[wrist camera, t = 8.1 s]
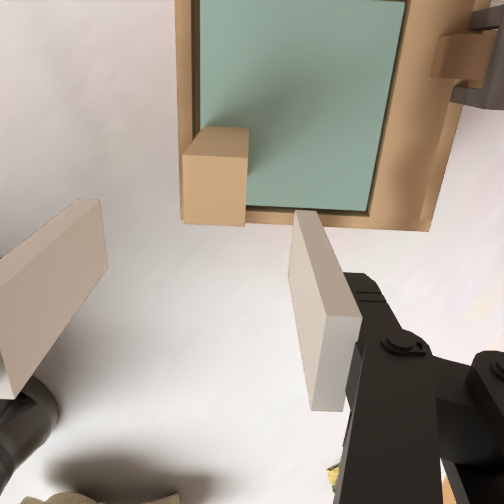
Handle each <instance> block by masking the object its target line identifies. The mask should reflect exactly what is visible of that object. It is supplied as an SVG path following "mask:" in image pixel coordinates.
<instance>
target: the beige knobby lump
mask: <svg viewBox="0 0 504 504" xmlns="http://www.w3.org/2000/svg"><path fill="white" fill-rule="evenodd" d="M21 504H106V503H103V502H100V503H97V502H96V501H94V500H92V499H91V498H88V497H87V496H84V495H82V494H79V493H74V492H63V493H57V494H54V495H53V496H51V497H50V498H49V499H48V500H47V501H46V502H44V501H41V500H39V499H36V498H32V497H25V498H24V499H23V500H22V502H21ZM141 504H180V498H179V494H178V493H176V494H174V495H171V496H168V497H165V498H162V499H159V500H155V501H151V502H147V503H141Z"/></svg>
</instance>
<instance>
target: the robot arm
mask: <svg viewBox="0 0 504 504" xmlns="http://www.w3.org/2000/svg"><path fill="white" fill-rule="evenodd" d="M107 268H108V266H107V257H106V249H105V241H104V232H103V224H102V216H101V207H100V200H90V199H77V200H76V201H75V202H73V203H72V204H71V205H70V206H68V207H67V208H66V209H64V210H63V211H62V212H61V213H59V214H58V215H57V216H55V217H54V218H53V219H52V220H50V221H49V222H48V223H46V224H45V225H44V226H42V227H41V228H40V229H39V230H37V231H36V232H35V233H33V234H32V235H31V236H30V237H28V238H27V239H26V240H24V241H23V242H22V243H21V244H19V245H18V246H17V247H15V248H14V249H13V250H11V251H10V252H9V253H8V254H6V255H5V256H4V257H2V258H0V495H1V493H2V492H3V490H4V488H5V486H6V485H7V483H8V481H9V480H10V478H11V476H12V475H13V473H14V471H15V470H16V469H17V468H18V467H19V466H20V465H21V464H22V463H24V462H25V461H26V460H27V459H28V458H29V457H30V456H31V455H32V454H33V453H34V452H35V451H36V450H37V448H39V447H40V446H41V445H42V444H44V443H45V441H46V440H47V439H48V437H49V436H50V434H51V432H52V430H53V429H54V427H55V425H56V423H57V420H58V407H57V403H56V401H55V399H54V397H53V396H52V394H51V393H50V392H49V390H48V389H47V388H46V387H45V386H44V385H43V384H42V383H40V382H39V381H38V380H36V379H35V378H33V377H32V376H31V375H32V374H33V373H34V371H35V370H36V368H37V367H38V366H39V364H40V363H41V361H42V360H43V358H44V357H45V356H46V354H47V353H48V351H49V350H50V349H51V347H52V346H53V344H54V343H55V342H56V340H57V339H58V337H59V336H60V334H61V333H62V332H63V330H64V329H65V327H66V326H67V325H68V323H69V322H70V320H71V319H72V318H73V316H74V315H75V313H76V312H77V310H78V309H79V308H80V306H81V305H82V303H83V302H84V301H85V299H86V298H87V296H88V295H89V294H90V292H91V291H92V289H93V288H94V286H95V285H96V284H97V282H98V281H99V279H100V278H101V277H102V275H103V274H104V272H105V271H106V270H107ZM288 279H289V285H290V291H291V297H292V303H293V309H294V315H295V321H296V326H297V332H298V338H299V344H300V350H301V356H302V362H303V367H304V373H305V379H306V385H307V391H308V397H309V403H310V409H311V411H330V412H343V407H344V402H345V398H346V396H347V399H348V403H349V406H350V410H351V411H350V415H349V420H348V424H347V429H346V433H345V438H344V442H343V446H342V447H343V452H342V457H341V463H340V468H339V474H338V479H337V485H336V490H335V496H334V501H333V504H443V495H442V481H441V468H440V458H441V460H442V463H443V466H444V469H445V472H446V475H447V477H448V480H449V483H450V486H451V488H452V491H453V494H454V497H455V500H456V503H457V504H504V352H500V351H482V352H480V353H477V354H476V356H475V357H474V359H473V362H472V364H471V366H469V365H465V364H461V363H457V362H453V361H449V360H445V359H442V358H439V357H436V356H433V355H432V352H431V350H430V347H429V345H428V344H427V343H426V342H425V341H424V340H423V339H422V338H420V337H419V336H417V335H415V334H414V333H412V332H410V331H407V330H404V329H402V328H401V326H400V324H399V322H398V320H397V319H396V317H395V315H394V313H393V312H392V310H391V308H390V306H389V305H388V303H386V299H385V298H384V296H383V295H382V292H381V291H380V289H379V287H378V285H377V284H376V282H375V281H373V280H372V279H371V278H369V277H368V276H367V275H365V274H364V273H347V272H342V269H341V267H340V265H339V263H338V260H337V258H336V256H335V253H334V251H333V249H332V246H331V244H330V242H329V240H328V237H327V235H326V233H325V230H324V228H323V226H322V224H321V221H320V219H319V217H318V214H317V212H316V211H308V210H295V214H294V224H293V233H292V243H291V252H290V261H289V271H288Z"/></svg>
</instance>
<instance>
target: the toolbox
mask: <svg viewBox="0 0 504 504" xmlns="http://www.w3.org/2000/svg"><path fill="white" fill-rule="evenodd" d="M379 1H395V2H405V7H404V12H403V17H402V23H401V28H400V33H399V38H398V44H397V49H396V54H395V59H394V65H393V70H392V75H391V81H390V86H389V91H388V96H387V102H386V107H385V112H384V118H383V123H382V128H381V133H380V139H379V144H378V149H377V155H376V160H375V165H374V170H373V176H372V181H371V186H370V191H369V197H368V202H367V207H366V211H357V210H337V209H317V208H298V207H278V206H258V205H246V209H245V223H260V224H281V225H293V224H294V214H295V210H308V211H316V212H317V214H318V217H319V219H320V221H321V224H322V226H323V227H341V228H361V229H381V230H401V231H422V232H429V229H430V225H431V222H432V218H433V214H434V210H435V207H436V203H437V199H438V196H439V192H440V188H441V184H442V181H443V177H444V173H445V170H446V166H447V162H448V158H449V155H450V151H451V147H452V144H453V140H454V136H455V132H456V129H457V125H458V121H459V118H460V114H461V110H462V107H463V105H468V106H473V107H476V108H481V109H491V110H504V5H500V6H495V7H491V8H489V6H490V3H491V0H379ZM175 29H176V66H177V102H178V139H179V175H180V212H181V220H184V206H183V164H182V154H183V153H184V152H185V150H186V149H187V148H188V147H189V145H190V144H191V143H192V141H193V140H194V139H195V137H196V136H197V135H198V134H199V132H200V0H175ZM492 29H498V30H492ZM462 33H465V34H481V35H497V36H496V39H495V43H494V47H493V50H492V54H491V57H490V61H489V64H488V68H487V71H486V75H485V78H484V80H467V79H450V78H436V77H430V74H431V69H432V65H433V61H434V56H435V52H436V48H437V43H438V39H439V37H441V36H448V35H455V34H462Z"/></svg>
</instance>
